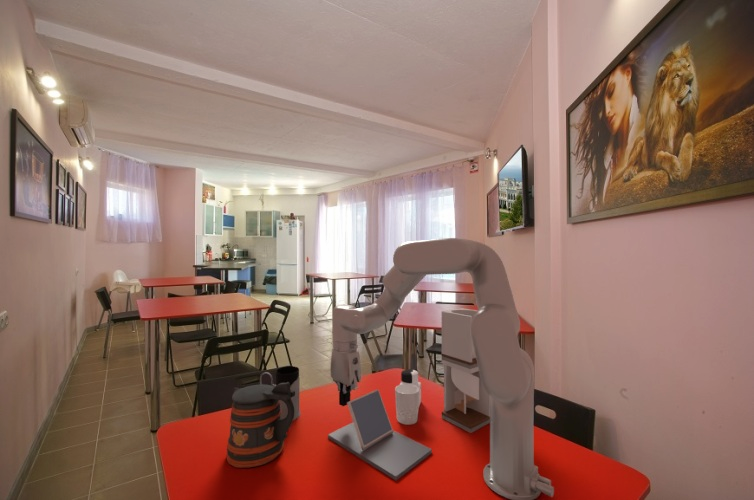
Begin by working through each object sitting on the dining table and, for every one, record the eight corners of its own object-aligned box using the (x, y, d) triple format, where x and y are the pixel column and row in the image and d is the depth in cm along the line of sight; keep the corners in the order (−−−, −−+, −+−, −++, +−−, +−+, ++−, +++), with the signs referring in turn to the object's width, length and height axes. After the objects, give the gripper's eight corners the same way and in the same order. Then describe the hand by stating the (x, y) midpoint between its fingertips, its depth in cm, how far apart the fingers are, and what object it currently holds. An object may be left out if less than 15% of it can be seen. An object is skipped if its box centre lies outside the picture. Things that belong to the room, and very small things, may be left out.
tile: (391, 432, 96) (393, 432, 96) (362, 450, 88) (364, 449, 87) (376, 389, 101) (378, 388, 100) (346, 402, 92) (349, 401, 91)
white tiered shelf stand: (441, 418, 107) (441, 311, 108) (462, 408, 114) (461, 308, 114) (470, 433, 98) (470, 316, 99) (491, 422, 105) (490, 312, 105)
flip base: (431, 453, 88) (431, 449, 88) (395, 480, 77) (396, 476, 77) (364, 419, 106) (364, 416, 106) (328, 438, 95) (328, 434, 95)
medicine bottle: (397, 407, 114) (397, 373, 115) (402, 399, 121) (402, 366, 121) (417, 410, 112) (417, 375, 112) (421, 401, 119) (421, 368, 119)
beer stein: (307, 442, 93) (307, 372, 93) (281, 476, 79) (282, 393, 79) (248, 434, 97) (249, 366, 98) (213, 464, 83) (214, 386, 83)
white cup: (419, 414, 110) (419, 384, 110) (419, 426, 102) (419, 394, 102) (395, 413, 110) (395, 383, 111) (394, 425, 103) (394, 393, 103)
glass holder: (294, 422, 104) (294, 375, 104) (253, 419, 106) (253, 372, 106) (304, 409, 113) (304, 366, 113) (266, 406, 115) (266, 364, 115)
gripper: (370, 347, 100) (370, 407, 99) (338, 338, 110) (338, 393, 110) (352, 352, 94) (351, 416, 94) (320, 342, 104) (320, 400, 104)
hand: (344, 404), depth 102 cm, fingers closed
